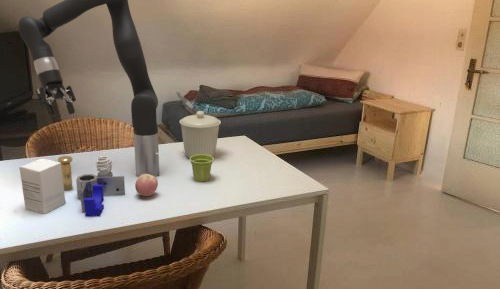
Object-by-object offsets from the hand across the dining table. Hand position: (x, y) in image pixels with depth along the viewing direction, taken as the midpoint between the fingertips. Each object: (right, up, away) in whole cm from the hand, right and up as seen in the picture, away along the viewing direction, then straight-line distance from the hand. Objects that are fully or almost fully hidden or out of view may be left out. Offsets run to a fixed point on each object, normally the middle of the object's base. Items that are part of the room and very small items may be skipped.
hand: (63, 114), depth 155 cm
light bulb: (+14, -26, +5) cm, 30 cm away
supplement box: (-1, -31, -12) cm, 33 cm away
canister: (+45, -16, +40) cm, 62 cm away
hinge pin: (+1, -27, +1) cm, 27 cm away
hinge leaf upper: (+15, -29, -3) cm, 32 cm away
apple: (+30, -29, -1) cm, 42 cm away
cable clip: (+16, -32, -11) cm, 38 cm away
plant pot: (+48, -24, +15) cm, 56 cm away
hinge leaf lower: (+11, -30, -8) cm, 33 cm away
